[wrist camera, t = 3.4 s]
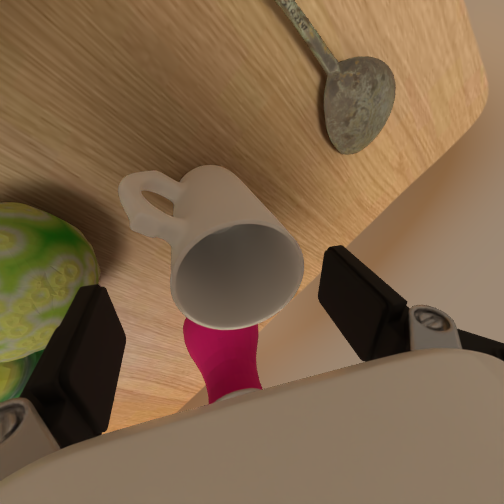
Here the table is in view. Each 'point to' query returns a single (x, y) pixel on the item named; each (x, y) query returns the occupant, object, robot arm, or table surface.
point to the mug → (217, 246)
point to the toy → (16, 375)
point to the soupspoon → (348, 89)
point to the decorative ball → (38, 276)
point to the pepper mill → (224, 359)
